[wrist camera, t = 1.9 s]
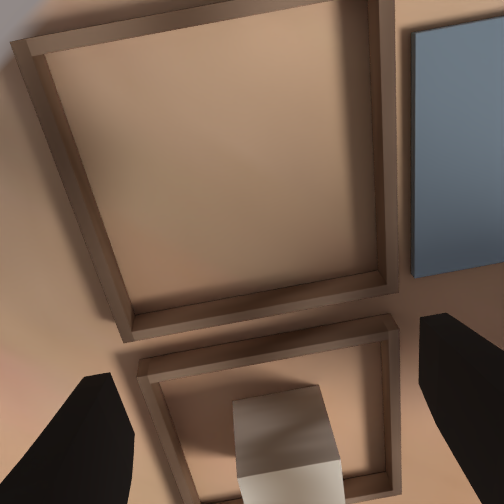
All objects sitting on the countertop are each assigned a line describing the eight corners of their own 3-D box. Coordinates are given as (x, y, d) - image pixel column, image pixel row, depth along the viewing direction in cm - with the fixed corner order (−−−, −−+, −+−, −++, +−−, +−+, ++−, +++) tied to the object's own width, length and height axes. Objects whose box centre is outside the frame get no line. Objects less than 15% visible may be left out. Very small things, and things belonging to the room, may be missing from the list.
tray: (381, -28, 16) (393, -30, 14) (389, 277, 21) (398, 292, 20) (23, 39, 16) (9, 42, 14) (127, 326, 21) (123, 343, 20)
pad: (609, -4, 16) (617, -4, 16) (564, 245, 21) (570, 249, 21) (411, 32, 16) (415, 33, 16) (410, 273, 21) (414, 278, 21)
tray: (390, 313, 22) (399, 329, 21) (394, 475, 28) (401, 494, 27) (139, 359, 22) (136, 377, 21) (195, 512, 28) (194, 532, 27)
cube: (318, 383, 24) (340, 459, 20) (326, 443, 26) (347, 521, 22) (232, 399, 24) (237, 478, 20) (246, 457, 26) (253, 538, 22)
